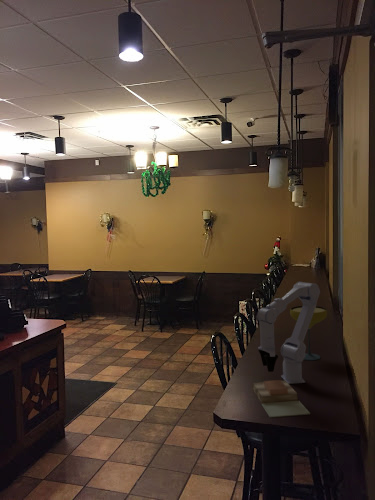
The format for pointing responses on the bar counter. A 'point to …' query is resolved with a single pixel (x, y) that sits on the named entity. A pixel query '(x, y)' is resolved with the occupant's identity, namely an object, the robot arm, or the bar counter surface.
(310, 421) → the bar counter surface
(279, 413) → the sage mat
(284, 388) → the terracotta tile
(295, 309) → the cocktail glass
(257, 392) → the birch deck
